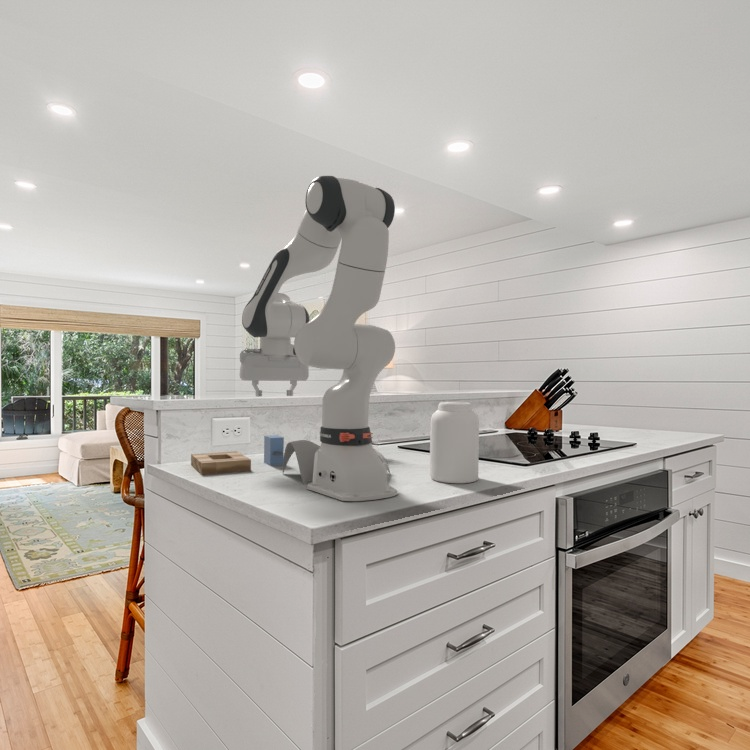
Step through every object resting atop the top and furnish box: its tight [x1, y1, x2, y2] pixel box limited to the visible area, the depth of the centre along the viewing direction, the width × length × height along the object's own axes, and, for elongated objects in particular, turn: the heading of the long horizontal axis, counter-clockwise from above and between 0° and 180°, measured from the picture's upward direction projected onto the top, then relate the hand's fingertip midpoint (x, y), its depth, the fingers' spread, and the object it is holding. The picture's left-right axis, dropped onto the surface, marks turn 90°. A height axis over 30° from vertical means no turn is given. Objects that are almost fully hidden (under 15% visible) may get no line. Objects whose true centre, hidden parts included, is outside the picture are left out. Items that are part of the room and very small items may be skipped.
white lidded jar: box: [429, 401, 480, 485], centre depth 133 cm, size 12×12×20 cm
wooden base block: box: [190, 450, 252, 475], centre depth 145 cm, size 16×13×3 cm
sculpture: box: [282, 439, 392, 485], centre depth 138 cm, size 25×19×10 cm
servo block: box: [263, 434, 285, 467], centre depth 152 cm, size 9×4×8 cm, turn 29°
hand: (274, 396), depth 152 cm, fingers open, 8 cm apart
